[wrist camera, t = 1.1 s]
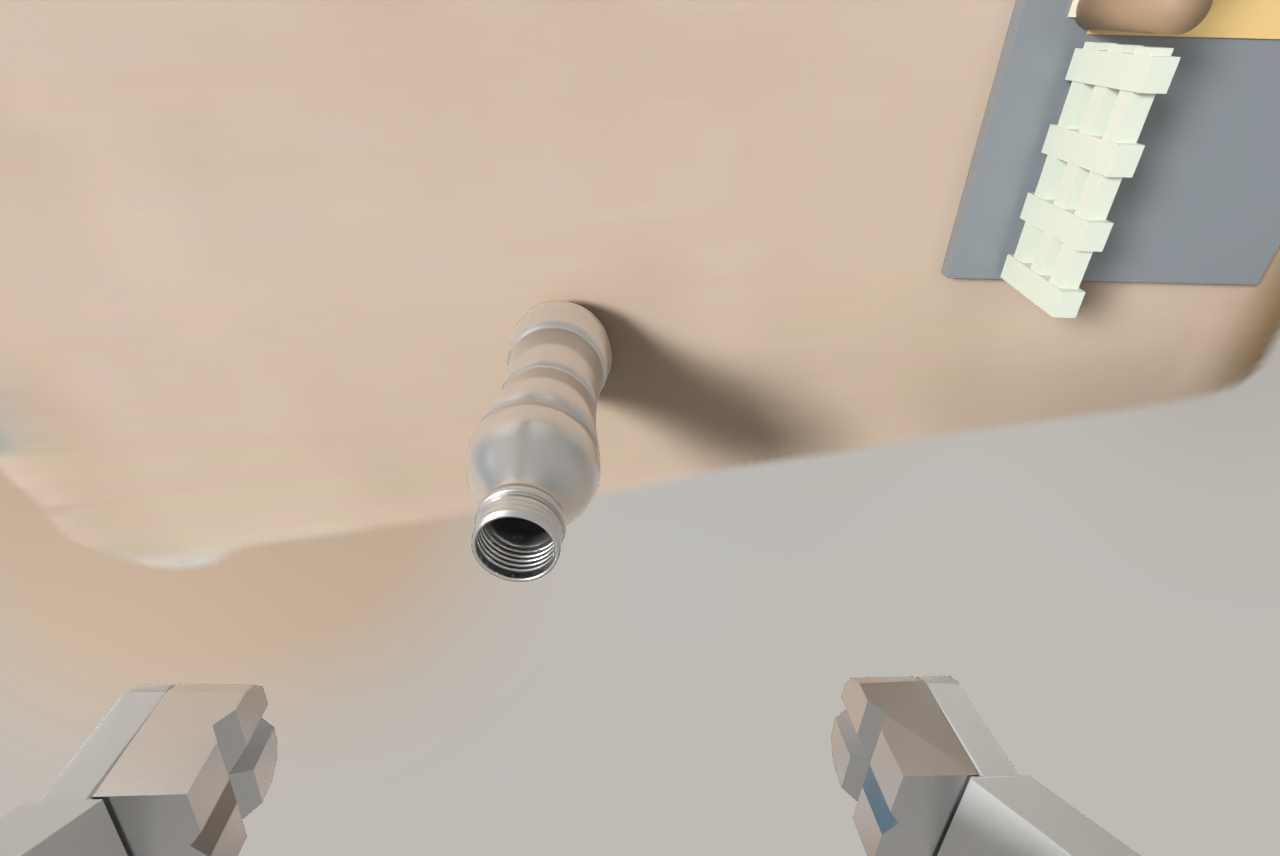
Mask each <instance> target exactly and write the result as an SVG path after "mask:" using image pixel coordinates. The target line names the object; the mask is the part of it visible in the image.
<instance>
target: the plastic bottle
mask: <svg viewBox="0 0 1280 856" xmlns="http://www.w3.org/2000/svg"><path fill="white" fill-rule="evenodd" d="M611 364H612V351H611V347H610V343H609V339H608V336H607V333H606V331H605V329H604V326H603V325H602V324H601V322H600V321H599V319H598V318H597V317H596V316H595V315H594V314H593V313H592V312H590V311H589V310H587V309H586V308H584V307H582V306H580V305H577V304H575V303H571V302H567V301H552V302H546V303H543V304H541V305H538V306H536V307H535V308H533V309H532V310H530V311H529V312H528V313H527V314H526V315H525V316H524V317H523V318H522V319H521V320H520V321H519V322H518V323H517V325H516V327H515V328H514V330H513V332H512V334H511V337H510V340H509V347H508V357H507V365H508V369H507V374H506V379H505V383H504V385H503V387H502V390H501V392H500V393H499V396H498V398H497V400H496V402H495V403H494V405H493V406H492V407H491V409H490V410H489V412H488V413H487V414H486V416H485V417H484V419H483V420H482V422H481V423H480V424H479V426H478V427H477V429H476V431H475V432H474V434H473V436H472V438H471V440H470V441H469V444H468V447H467V451H466V459H465V467H466V477H467V483H468V487H469V489H470V492H471V494H472V496H473V498H474V500H475V501H476V503H477V504H478V506H479V507H478V510H477V513H476V518H475V528H474V531H473V534H472V545H471V546H472V552H473V554H474V557H475V559H476V560H477V562H478V563H479V564H480V565H481V566H482V567H483V568H484V569H485V570H486V571H488V572H489V573H491V574H492V575H494V576H496V577H498V578H501V579H505V580H508V581H515V582H525V581H531V580H535V579H538V578H541V577H542V576H544V575H546V574H547V573H549V572H550V571H551V570H552V569H553V567H554V566H555V565H556V563H557V560H558V557H559V555H560V549H561V543H562V541H563V539H564V535H565V530H566V525H568V524H570V523H571V522H573V521H574V520H575V519H576V518H578V517H579V516H580V515H581V514H582V513H583V512H584V511H585V509H586V508H587V507H588V505H589V504H590V502H591V500H592V499H593V497H594V495H595V493H596V491H597V488H598V486H599V481H600V453H599V446H598V439H597V432H596V407H597V403H598V399H599V396H600V392H601V391H602V389H603V387H604V385H605V383H606V380H607V378H608V375H609V372H610V369H611Z"/></svg>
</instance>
